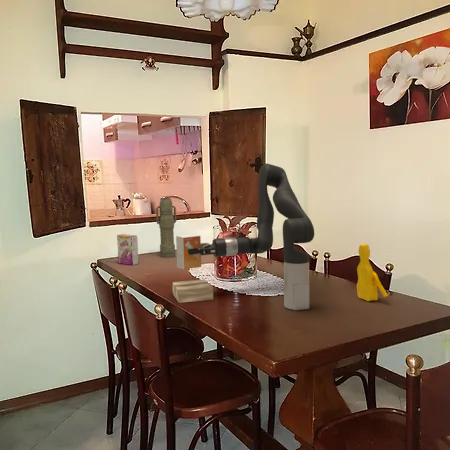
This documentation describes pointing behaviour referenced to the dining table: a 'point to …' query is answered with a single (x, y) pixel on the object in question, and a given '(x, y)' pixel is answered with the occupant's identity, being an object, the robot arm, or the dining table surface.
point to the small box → (182, 251)
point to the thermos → (166, 227)
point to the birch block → (192, 290)
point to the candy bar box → (127, 249)
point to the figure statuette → (367, 277)
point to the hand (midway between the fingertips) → (186, 250)
